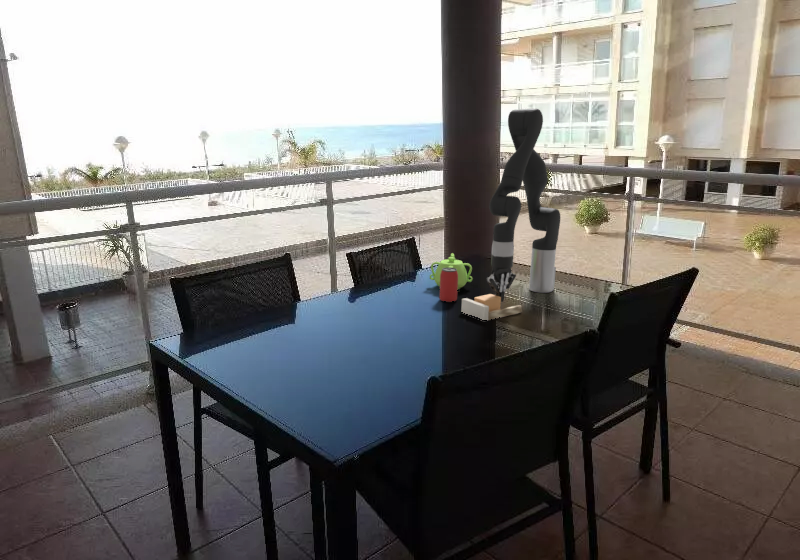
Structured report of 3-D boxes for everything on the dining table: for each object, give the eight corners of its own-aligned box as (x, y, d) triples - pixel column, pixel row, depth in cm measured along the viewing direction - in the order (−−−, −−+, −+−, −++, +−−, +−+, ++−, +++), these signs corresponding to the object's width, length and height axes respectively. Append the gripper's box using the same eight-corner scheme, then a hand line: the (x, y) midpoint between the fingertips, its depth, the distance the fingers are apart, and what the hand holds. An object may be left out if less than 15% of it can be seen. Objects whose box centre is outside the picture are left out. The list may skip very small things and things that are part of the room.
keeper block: (489, 310, 207) (490, 293, 206) (500, 313, 203) (501, 297, 202) (473, 313, 202) (474, 297, 201) (483, 317, 199) (484, 300, 197)
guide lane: (498, 304, 214) (498, 298, 213) (521, 312, 205) (521, 305, 204) (465, 311, 205) (465, 304, 204) (488, 320, 196) (488, 313, 195)
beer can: (457, 298, 221) (458, 267, 218) (456, 303, 215) (458, 271, 212) (439, 297, 222) (440, 266, 219) (439, 302, 215) (440, 270, 212)
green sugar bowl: (423, 285, 239) (424, 255, 236) (451, 280, 246) (452, 251, 243) (446, 294, 226) (447, 263, 223) (475, 289, 233) (476, 259, 230)
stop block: (465, 311, 205) (466, 298, 204) (488, 320, 196) (488, 306, 195) (461, 312, 204) (461, 298, 202) (483, 321, 195) (484, 307, 193)
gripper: (508, 249, 208) (505, 295, 212) (481, 253, 200) (478, 301, 205) (523, 253, 202) (520, 300, 206) (496, 257, 194) (493, 307, 199)
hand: (499, 301), depth 205 cm, fingers closed
